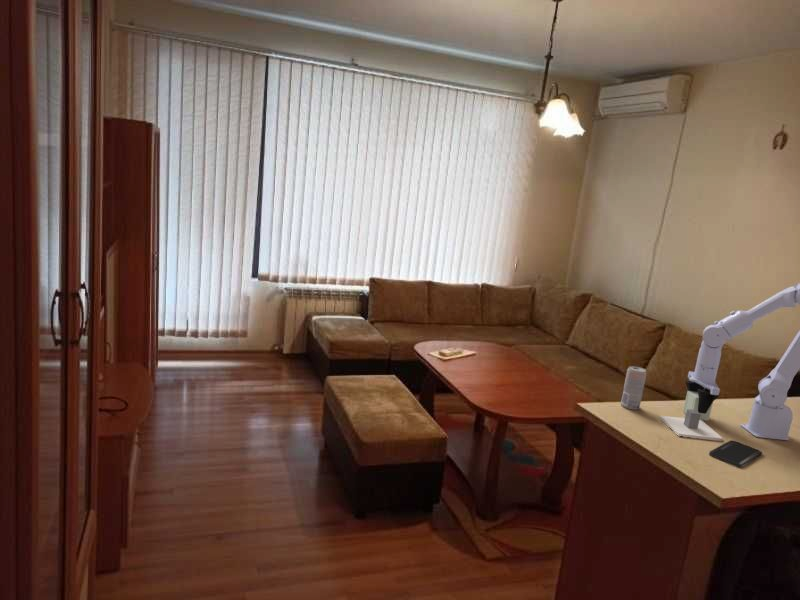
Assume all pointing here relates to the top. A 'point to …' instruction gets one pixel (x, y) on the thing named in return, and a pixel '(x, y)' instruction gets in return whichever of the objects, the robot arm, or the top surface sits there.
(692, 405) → the pale green slotted block
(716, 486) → the top surface
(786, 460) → the top surface
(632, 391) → the energy drink
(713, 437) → the post board
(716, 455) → the phone
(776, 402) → the robot arm
